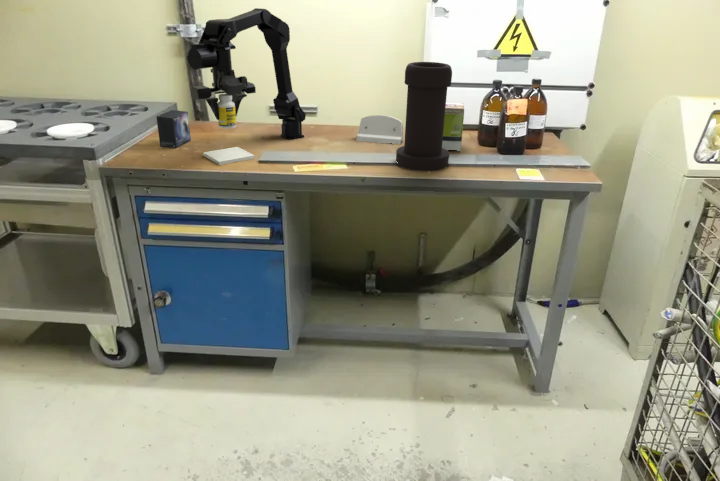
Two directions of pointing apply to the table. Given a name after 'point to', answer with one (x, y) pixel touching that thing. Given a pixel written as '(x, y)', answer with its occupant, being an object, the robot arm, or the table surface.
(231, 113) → the supplement bottle
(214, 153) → the pad
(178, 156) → the table surface
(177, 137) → the small box
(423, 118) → the pipe
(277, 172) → the table surface
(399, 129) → the grey rounded upright plate
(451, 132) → the tea box
